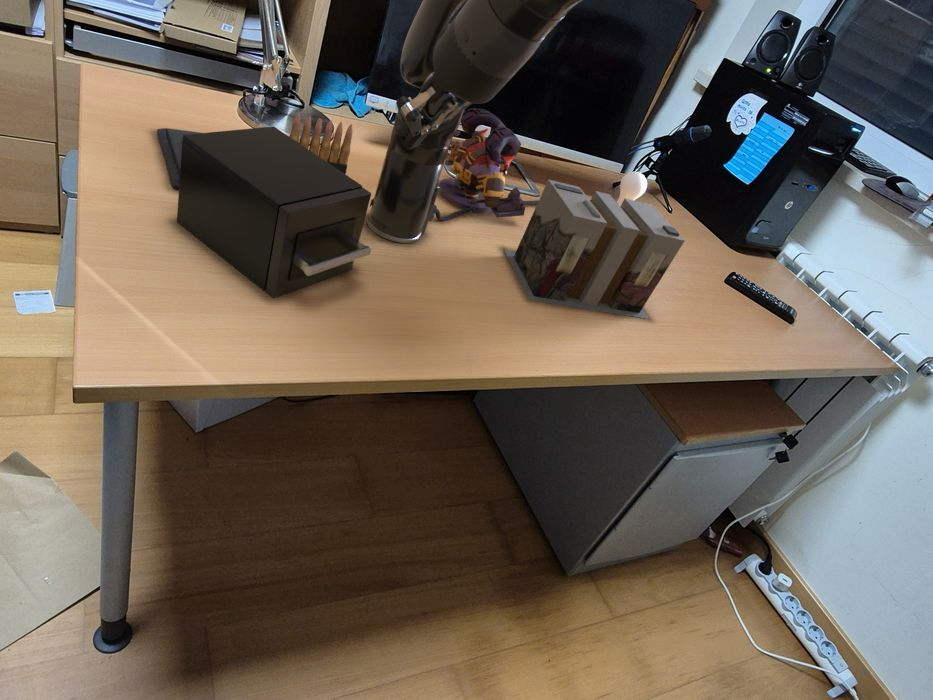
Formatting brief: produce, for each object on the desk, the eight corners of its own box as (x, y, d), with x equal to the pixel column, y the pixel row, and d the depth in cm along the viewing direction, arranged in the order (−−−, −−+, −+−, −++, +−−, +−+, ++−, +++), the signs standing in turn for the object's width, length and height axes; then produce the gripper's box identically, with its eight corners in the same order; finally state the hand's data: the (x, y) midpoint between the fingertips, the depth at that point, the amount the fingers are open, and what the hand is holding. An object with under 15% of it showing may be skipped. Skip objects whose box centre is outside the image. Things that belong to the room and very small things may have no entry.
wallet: (157, 120, 104) (250, 134, 112) (156, 131, 105) (249, 144, 113) (170, 178, 91) (274, 189, 99) (169, 190, 92) (273, 200, 100)
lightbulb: (633, 222, 150) (656, 181, 144) (614, 219, 147) (636, 177, 141) (620, 209, 154) (642, 169, 148) (601, 206, 151) (623, 164, 145)
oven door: (370, 282, 91) (391, 206, 84) (293, 313, 80) (310, 228, 72) (344, 264, 93) (363, 187, 85) (265, 291, 81) (279, 206, 74)
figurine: (520, 228, 125) (554, 151, 115) (462, 223, 117) (493, 140, 108) (477, 179, 137) (505, 106, 127) (422, 172, 130) (447, 94, 120)
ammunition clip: (340, 186, 112) (355, 123, 105) (342, 191, 111) (357, 127, 104) (280, 176, 107) (291, 109, 100) (281, 182, 106) (293, 114, 99)
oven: (342, 263, 93) (362, 185, 85) (263, 291, 81) (278, 204, 74) (261, 204, 98) (273, 126, 90) (176, 222, 87) (182, 134, 79)
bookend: (649, 318, 113) (697, 244, 104) (529, 300, 103) (570, 215, 94) (614, 270, 124) (655, 198, 115) (503, 249, 115) (538, 169, 105)
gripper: (467, 92, 55) (384, 188, 69) (550, 60, 63) (460, 152, 76) (419, 18, 54) (345, 130, 68) (509, -5, 62) (426, 100, 76)
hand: (406, 141), depth 72 cm, fingers closed
